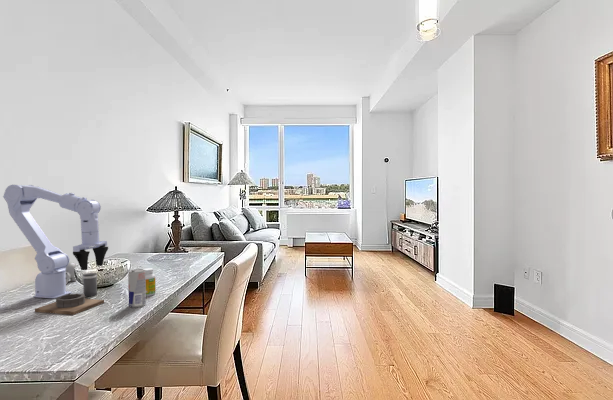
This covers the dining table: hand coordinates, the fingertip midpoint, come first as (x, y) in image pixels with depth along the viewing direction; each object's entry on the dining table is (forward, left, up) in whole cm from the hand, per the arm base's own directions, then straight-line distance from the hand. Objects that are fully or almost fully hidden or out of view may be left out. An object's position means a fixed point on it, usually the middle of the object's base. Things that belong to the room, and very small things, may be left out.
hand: (92, 267), depth 140 cm
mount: (+4, -14, -10) cm, 18 cm away
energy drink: (+25, -8, -11) cm, 29 cm away
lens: (-1, 0, -10) cm, 10 cm away
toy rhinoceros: (-26, +15, -11) cm, 32 cm away
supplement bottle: (+20, +5, -11) cm, 23 cm away
